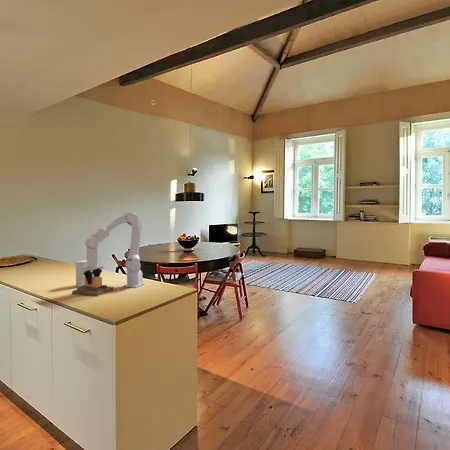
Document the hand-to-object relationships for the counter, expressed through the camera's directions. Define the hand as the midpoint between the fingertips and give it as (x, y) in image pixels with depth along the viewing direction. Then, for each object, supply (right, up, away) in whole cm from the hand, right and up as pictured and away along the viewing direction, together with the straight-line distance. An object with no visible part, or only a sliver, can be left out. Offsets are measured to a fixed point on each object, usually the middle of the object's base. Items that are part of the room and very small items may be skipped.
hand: (92, 283), depth 184 cm
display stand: (0, -5, 0) cm, 5 cm away
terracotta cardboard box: (0, -2, 0) cm, 2 cm away
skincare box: (-11, -4, +15) cm, 19 cm away
